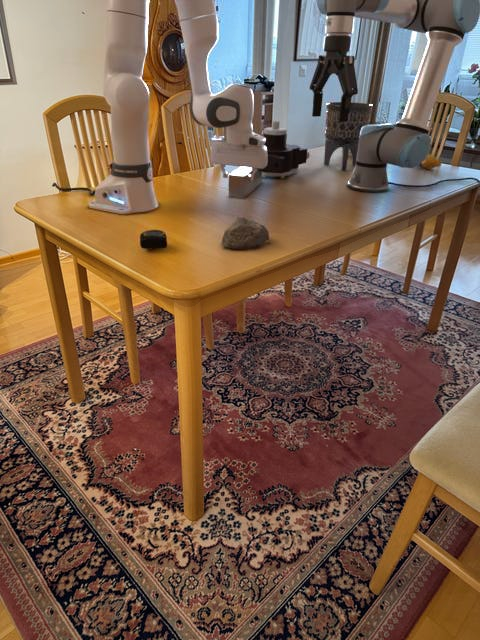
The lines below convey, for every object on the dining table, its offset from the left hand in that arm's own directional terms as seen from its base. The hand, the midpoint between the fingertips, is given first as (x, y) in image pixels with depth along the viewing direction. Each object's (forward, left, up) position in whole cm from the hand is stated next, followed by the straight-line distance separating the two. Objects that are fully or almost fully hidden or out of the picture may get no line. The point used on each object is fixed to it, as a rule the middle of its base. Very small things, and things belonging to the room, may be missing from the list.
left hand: (238, 179), depth 161 cm
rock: (+16, -46, -6) cm, 50 cm away
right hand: (+31, -9, +22) cm, 39 cm away
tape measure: (-5, -57, -6) cm, 58 cm away
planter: (+31, +65, -6) cm, 72 cm away
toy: (+69, +78, -6) cm, 104 cm away
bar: (+1, +9, -6) cm, 11 cm away
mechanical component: (+7, +41, -6) cm, 42 cm away
